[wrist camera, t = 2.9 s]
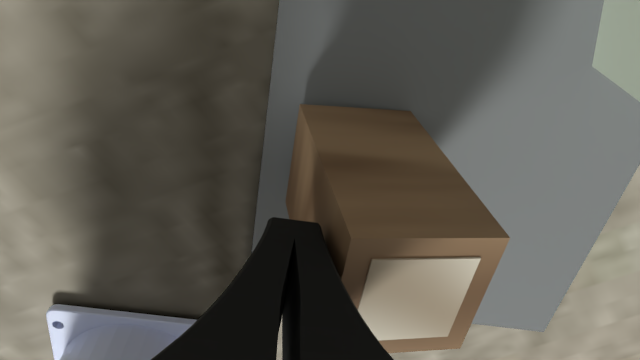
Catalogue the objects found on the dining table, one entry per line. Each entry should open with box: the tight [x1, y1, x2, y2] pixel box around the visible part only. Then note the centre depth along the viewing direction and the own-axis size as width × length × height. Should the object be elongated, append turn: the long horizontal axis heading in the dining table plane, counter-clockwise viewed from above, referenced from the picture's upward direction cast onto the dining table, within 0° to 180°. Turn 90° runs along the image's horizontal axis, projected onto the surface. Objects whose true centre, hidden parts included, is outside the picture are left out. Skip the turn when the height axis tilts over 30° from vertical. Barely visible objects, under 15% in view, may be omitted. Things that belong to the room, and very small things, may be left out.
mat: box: [251, 0, 640, 332], centre depth 19 cm, size 16×14×1 cm
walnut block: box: [285, 104, 510, 353], centre depth 15 cm, size 4×4×7 cm
